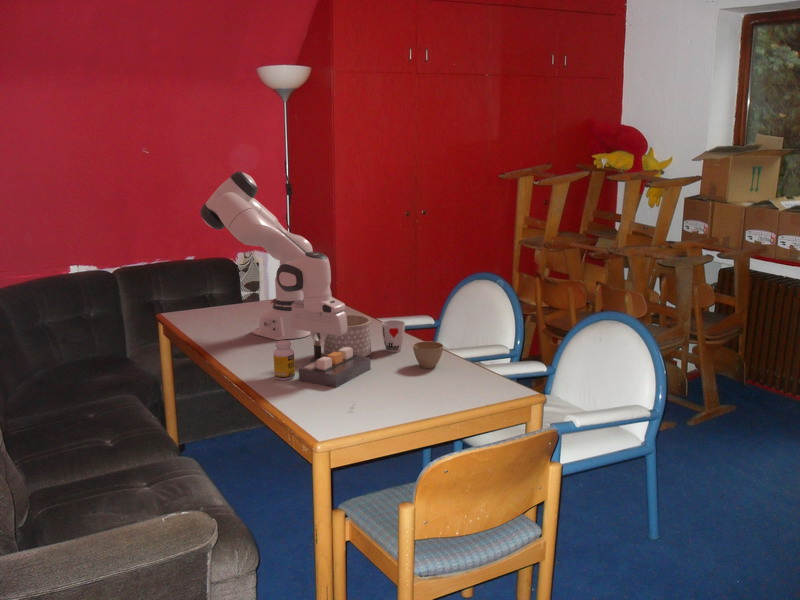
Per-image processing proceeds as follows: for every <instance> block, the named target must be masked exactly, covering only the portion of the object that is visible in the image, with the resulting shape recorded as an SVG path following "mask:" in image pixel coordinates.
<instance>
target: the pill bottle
mask: <svg viewBox="0 0 800 600" xmlns="http://www.w3.org/2000/svg"><path fill="white" fill-rule="evenodd" d="M291 346H292V342H291V341H290V340H289V339H283V340H276V342H275V347H276V349H275V350H274V351H273V372H274V378H275V379H277V380H279V381H280V380H281V381H285V380H286V381H287V380H291V379H293V378H295V375H296V367H295V366H296V365H295V363H296V362H295V351H294V350H293V348H291Z"/></svg>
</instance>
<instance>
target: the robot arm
mask: <svg viewBox="0 0 800 600" xmlns="http://www.w3.org/2000/svg"><path fill="white" fill-rule="evenodd" d="M258 190H259V189H258V185H257V183H256V182H255V179H253V177H252V176H251V175H249V174H247V173H245V172H243V171H235V172H233V173H232V174H231V175H230V177H228V179H226V180H225V181H224V182H222V183H221V184H220V185H219V186H218V187H217V188H216V190H215V191H214V192H213V193H212V194H211V196H210V197H209V198H208V199H207V201H206V202H204V204H203V205H202V206H201V208H200V211H199V212H200V217H201V218H202V221H203V222H204V223H205V224H206V225H207V226H208V227H210V228H212V229H214V230H216V231H217V230H223V229H224V228H226V229H227V230H228V231H229V232H230V234H231V235H232V236H233V237H234V238H235V239H236V240H238V241H239V242H241V243H242V244H243V245H246V246H252V247H262V248H263V249H264V250H265V251H266V252H267V253H268V255H269V256H270V257H272V258H273V259H275V260H278V261H279V266H278V268H277V270H276V273H275V274H276V275H275V276H276V277H275V278H274V284H275V285H274V287H275V298H274V299H272V300H270V305H271V304H272V308H270V309H269V310H268V311H267V312H265V313H264V314H263V315H262V316H261V317H260V319H259V325H258V328H255V329H254V330H253V335H256V336H261V337H265V338H268V339H271V340H275V341H281V340H292V339H295V340H296V339H301V338H305V337H308V336H310V337H311V338H312V340H313V346H314V345H317V346H321V347H324V340H325V338H326V336H327V334H329V335H336V336H342V335H344V334H346V332H347V317H346V315H347V314H346V312H345V311H344V310H346V304H345V303H344V302H343V301H341V300H338V299H337V298H335V297H334V296H332V290H331V282H332V273H331V272H332V271H331V263H330V260H329V257H328V256H327V255H326V254H324V253H322V252H319V251H313V246H312V244H311V243H310V241H308V240H307V239H306V238H305V237H303V236H302V235H299V234H295V233H292V232H291V231H288V230H286V229H285V228H284V226H283V225H282V224H281V223H280V221H279V219H278V218H277V217H276V216H275V215H274V214H273V213H272V212H271V211H270V210H269V209H267V208H266V207H265V206H264V205H263V204H262V203H261V202H259V201H258V200H257V199H256V198H255V197H256V195H257V193H258ZM318 333H320V336H321V338H320V339H318V336H317V334H318Z"/></svg>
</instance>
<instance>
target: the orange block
mask: <svg viewBox="0 0 800 600" xmlns="http://www.w3.org/2000/svg"><path fill="white" fill-rule="evenodd" d="M328 357H329V358H332V364H337V363H340V362H342V361H343V356H342V353H340V352H333V353H331V354H328Z"/></svg>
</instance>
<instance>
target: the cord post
mask: <svg viewBox="0 0 800 600" xmlns="http://www.w3.org/2000/svg"><path fill="white" fill-rule="evenodd" d="M317 336H318V339H320V338H321V336H320V333H318V334H317ZM313 355H314V356H313V358H311V359H310V363H312V362H314V361H316V360H318V359H320V358H322V357H323V356H322V346H317V345H314V344H313Z"/></svg>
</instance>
